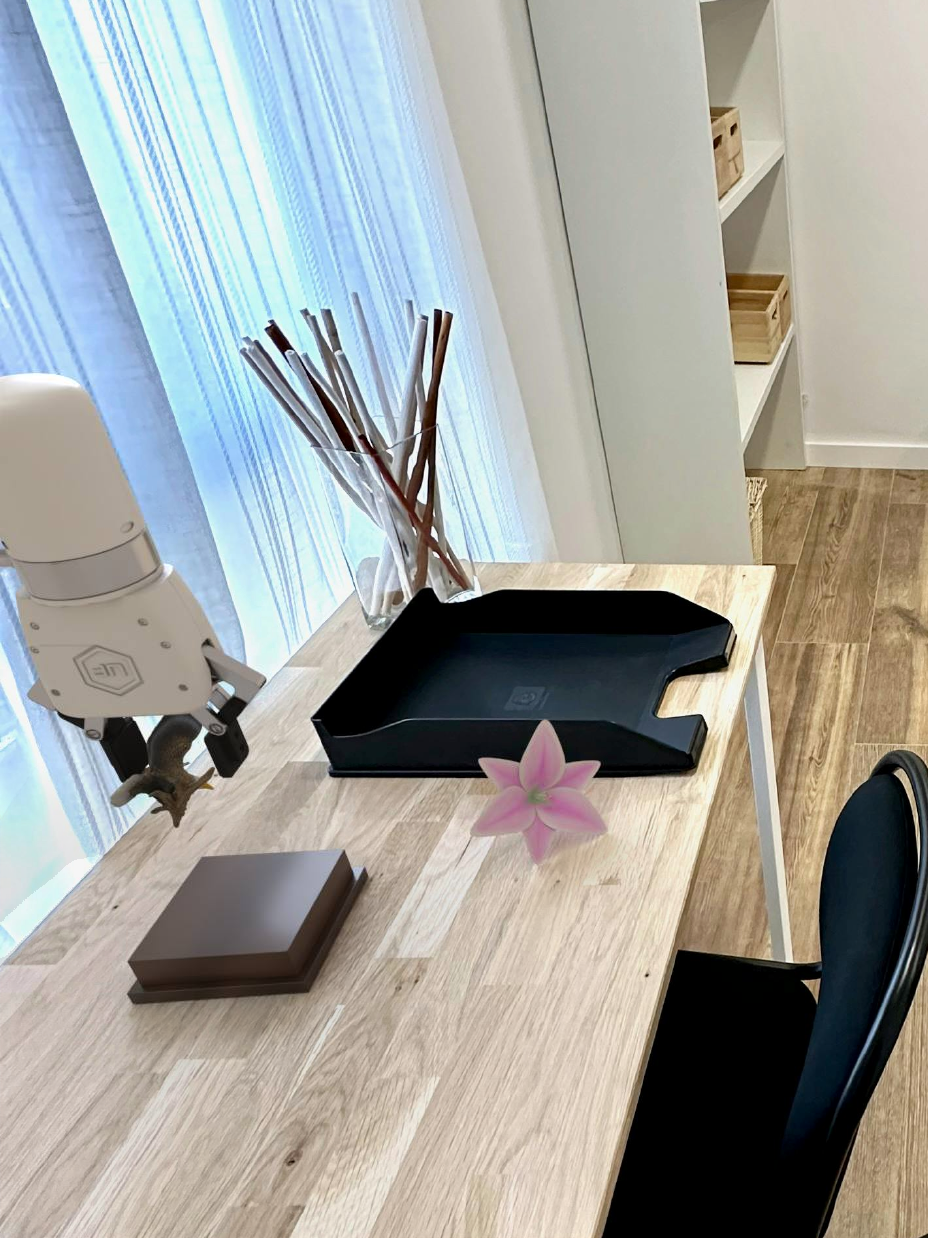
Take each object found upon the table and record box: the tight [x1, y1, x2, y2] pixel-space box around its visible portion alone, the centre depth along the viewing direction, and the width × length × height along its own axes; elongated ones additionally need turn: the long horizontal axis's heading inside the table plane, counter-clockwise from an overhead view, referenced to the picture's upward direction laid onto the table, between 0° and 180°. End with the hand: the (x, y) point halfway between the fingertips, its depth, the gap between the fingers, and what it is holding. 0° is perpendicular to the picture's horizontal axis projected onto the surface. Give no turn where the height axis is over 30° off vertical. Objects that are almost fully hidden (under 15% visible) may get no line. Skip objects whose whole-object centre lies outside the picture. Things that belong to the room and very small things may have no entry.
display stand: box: [126, 848, 369, 1005], centre depth 90 cm, size 13×13×4 cm
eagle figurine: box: [109, 713, 216, 829], centre depth 82 cm, size 8×7×9 cm
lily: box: [469, 718, 608, 866], centre depth 101 cm, size 12×12×10 cm
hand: (186, 767), depth 83 cm, fingers closed on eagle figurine, 6 cm apart
